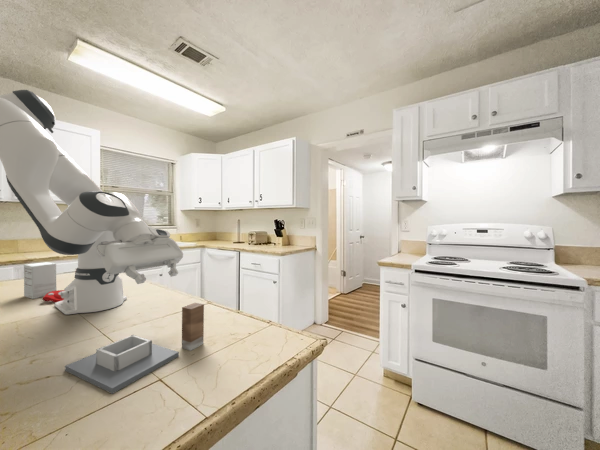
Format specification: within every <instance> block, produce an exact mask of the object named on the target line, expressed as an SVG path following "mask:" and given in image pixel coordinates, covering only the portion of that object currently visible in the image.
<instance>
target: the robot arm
mask: <svg viewBox="0 0 600 450" xmlns="http://www.w3.org/2000/svg"><path fill="white" fill-rule="evenodd" d="M55 125H56V116H55V113H54V111H53V109H52V107H51V106H50V104H48V102H47V101H46V100H45V99H43V98H42V97H41V96H39V95H37V94H36V93H34V92H33V91H32V90H29V89H19V90H12V93H11V92H10V93H5V94H0V161H1V164H2V166H3V169H4V171H5V178H6V182H7V185H8V187H9V188H10V190H11V191H12V193H13V194H14V196H15V197H16V198H17V200H18V201H19V203H20V204H21V206H22V207H23V209H25V211H26V213H27V214H28V215H29V217H30V218H31V220H32V221H33V222H34V224H35V226H36V227H37V229H38V230H39V233H40V236H41V239H42V240H43V242H44V243H45V245H46V246H47V247H48V249H50V250H51V251H53V252H55V253H57V254H60V255H65V256H76V255H77V268H75V273H74V279H73V280H72V281H71V282H70V283H69V284H68V285H67V286H66V287H65V288H64V289H63V290H64V291H63V292H61V298H64V300H62V301H59V302H54V307H55V308H56V309H58V310H59V311H60V312H61V313H62V314H64V315H72V314H83V313H84V314H85V313H95V312H101V311H105V310H106V311H107V310H109V309H113V308H114V309H115V308H116V307H119V306H120V305H123V303H124V301H126V300H127V298H128V297H127V295H125V294H124V285H123V278H121V277H120V276H119V275H120V274H124V273H125V275H126V276H127V277H129V278H131V279H133V280H134V281H135V283H136V284H137V285H139V284H141V285H142V284H144V283H145V282H146V280H147V278H146V276H145V274H144V273H139V272H138V271H141V270H148V269H153V268H158V267H165V266H167V267H168V268H170V269H169V271H168V272H167V273H168V275H169V276H170V278H171V277H172V278H173V277H176V276H177V275H178V274H179V271H178V269H177V264H178V263H180V261H181V260H183V257H184V253H183V251H182V249H181V248H180V246H179V244H178V243H177V242H176V241H175V240H174V239H172V238H171V234H170V232H169V231H168V230H164V229H159V228H155V227H152V226H149V225H148V223H146V221H144V220H143V215H142V214H141V212H140V210H138V208H137V207H136V205H135V204H134V203H133V202H132V201H131V199H129V198H128V196H126V195H125V194H123V193H120V192H106V191H105V192H104V190H102V189H101V188H100V187H99V185H97V183H96V182H94V180H92V178H91V177H90V176H89V175H88V174H87V173H86V172H85V171H84V170H83V169H82V168H81V167H80V166H79V165H78V163H76V162H75V160H74V159H73V158H72V157H71V156H69V154H68V153H67V152H66V151H65V150H64V149H62V148H61V146H59V145H58V144H57V143H56V142H55V140H54V139H53V137H52V136H51V135H50V133H51V134H53V133H54V131H53V128H54V127H55ZM46 129H47V130H48V131H49V132H50V133H48V131H46ZM50 192H51V193H52V194H53V195H54V196H55V197H57V198H59V200H60V201H62V202H63V203H64V204H65V205H67V207H66V208H65V209H64V211H61V209H60V207H59V206H58V205H57V203H56V202H55V201H54V199H53V198H52V196H51V194H50Z"/></svg>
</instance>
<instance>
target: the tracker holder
mask: <svg viewBox="0 0 600 450" xmlns="http://www.w3.org/2000/svg"><path fill="white" fill-rule="evenodd" d="M63 291H64V289H63V290H62V289H61V290H56V291H51V292H49V293H47V294H46V295H45V296H44V297H42V301H44V302H53V303H56V302H59V301H62V300H64V298H61V292H63Z"/></svg>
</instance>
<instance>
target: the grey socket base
mask: <svg viewBox="0 0 600 450" xmlns="http://www.w3.org/2000/svg"><path fill="white" fill-rule="evenodd" d="M95 351H96V352H95V353H92V354H90V355H88V356H85V357H83V358H80V359H78V360H76V361H74V362H71V363H69V364H66V365H65V366H64V370H65V372H67V373H70V374H71V375H73V376H75V377H76V378H79V379H81V380H83V381H86V382H88V383H89V384H92V385H93V386H96V387H97V388H99V389H102V390H103V391H106V392H108V393H110V394H114V393H116V392H118V391H120V390H122V389H123V388H126V387H127V386H128V385H131V384H133V383H134V382H135V381H138V380H140V378H143V377H145V376H147V375H148V374H150V373H152V372H154V371H155V370H157V369H159V368H160V367H162V366H163V365H165V364H168V363H169V362H171V361H172V360H175V359H176V358H178V357H179V356H180V355H179V351H177V350H173V349H171V348H169V347H168V348H167V347H165V346H162V345H158V344H155V343H153V341H152V339H148V338H146V337H141V336H138V335H135V334H131V335H129V336H126V337H124V338H121V339H119V340H115V341H114V342H112V343H111V342H110V343H108V344H106V345H104V346H101V347H99V348H97V349H96V350H95Z"/></svg>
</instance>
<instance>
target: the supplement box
mask: <svg viewBox="0 0 600 450" xmlns="http://www.w3.org/2000/svg"><path fill="white" fill-rule="evenodd" d="M23 286H24V287H23V296H24V297H26V298H29V299H32V300H33V299H38V298H43V297H44V296H45V295H46V294H47V293H49V292H51V291H57V263H56V262H55V263H54V262H49V261H45V262H37V263H29V264H23Z"/></svg>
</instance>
